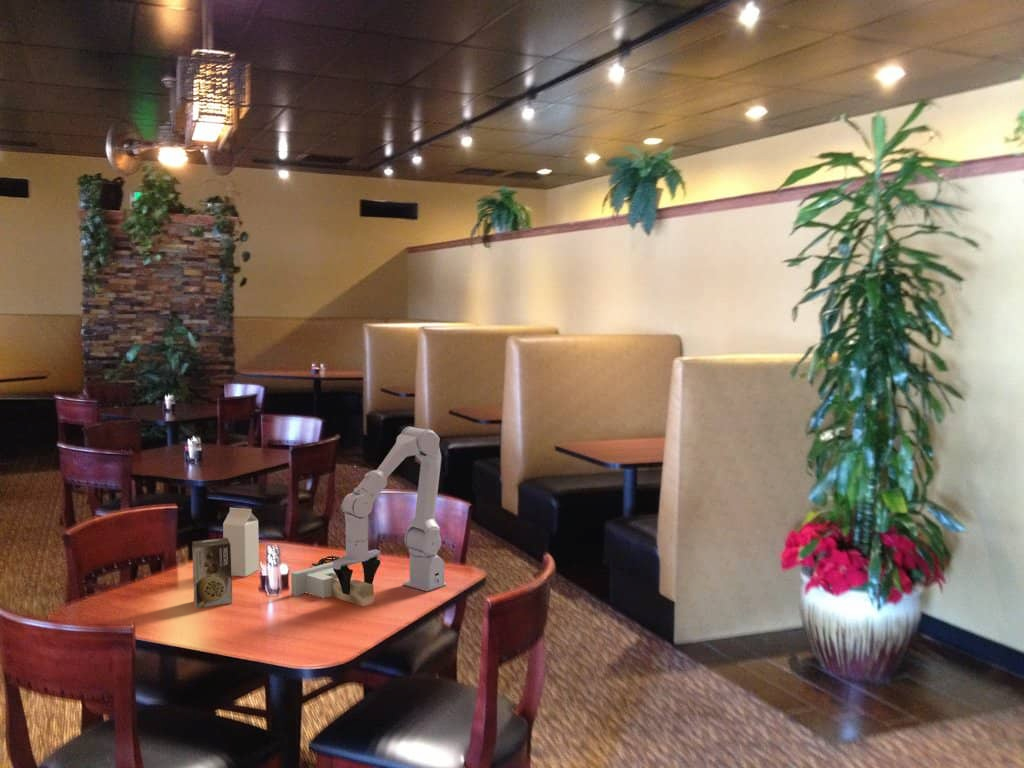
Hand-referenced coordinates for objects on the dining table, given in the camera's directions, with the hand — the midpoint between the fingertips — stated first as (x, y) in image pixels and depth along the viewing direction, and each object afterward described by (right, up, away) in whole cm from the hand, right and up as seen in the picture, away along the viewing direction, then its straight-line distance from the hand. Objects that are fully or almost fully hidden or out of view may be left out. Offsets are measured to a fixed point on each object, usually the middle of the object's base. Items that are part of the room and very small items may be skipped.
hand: (357, 590), depth 231 cm
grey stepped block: (-9, -2, +8) cm, 12 cm away
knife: (-16, -1, +28) cm, 32 cm away
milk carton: (-38, -1, +25) cm, 45 cm away
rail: (-2, -3, +2) cm, 4 cm away
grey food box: (-37, -3, -2) cm, 38 cm away
